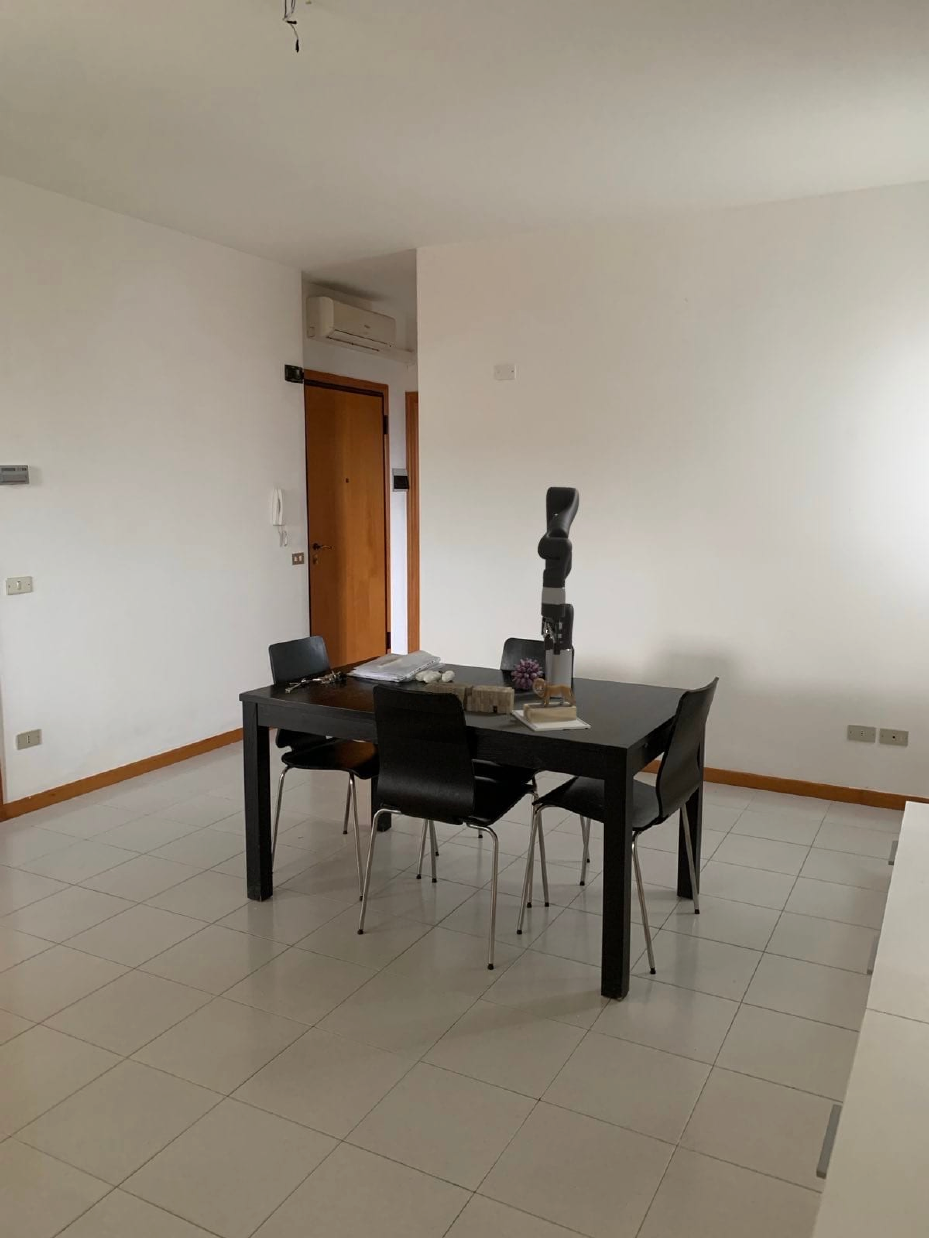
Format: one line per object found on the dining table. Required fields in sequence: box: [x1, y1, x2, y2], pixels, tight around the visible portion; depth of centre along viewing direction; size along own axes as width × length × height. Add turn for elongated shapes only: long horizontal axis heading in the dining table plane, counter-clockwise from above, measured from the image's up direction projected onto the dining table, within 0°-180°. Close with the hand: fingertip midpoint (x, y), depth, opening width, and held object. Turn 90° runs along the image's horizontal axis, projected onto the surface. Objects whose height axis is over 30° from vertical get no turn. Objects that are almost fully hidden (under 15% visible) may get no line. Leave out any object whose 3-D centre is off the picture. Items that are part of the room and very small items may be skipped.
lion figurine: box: [533, 677, 577, 707], centre depth 288 cm, size 15×5×9 cm, turn 106°
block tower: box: [425, 680, 515, 715], centre depth 305 cm, size 8×8×29 cm
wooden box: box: [522, 701, 578, 722], centre depth 289 cm, size 8×15×4 cm, turn 105°
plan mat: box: [511, 709, 591, 732], centre depth 290 cm, size 24×18×1 cm
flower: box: [511, 657, 544, 691], centre depth 335 cm, size 12×12×12 cm
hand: (551, 652), depth 287 cm, fingers open, 8 cm apart
